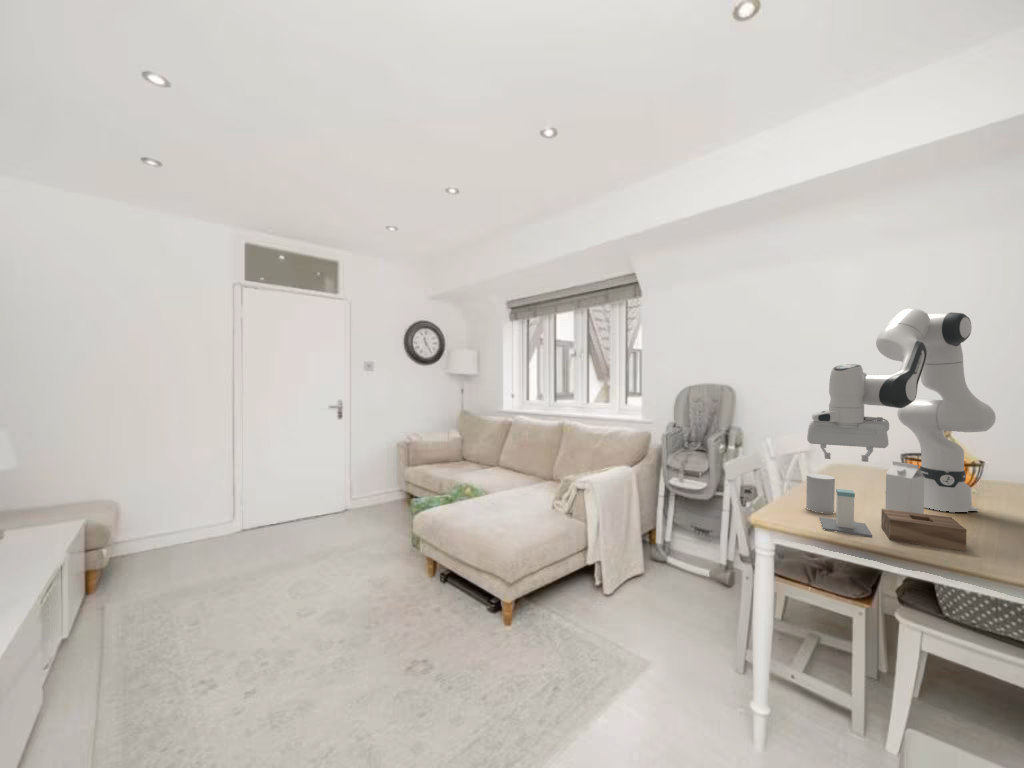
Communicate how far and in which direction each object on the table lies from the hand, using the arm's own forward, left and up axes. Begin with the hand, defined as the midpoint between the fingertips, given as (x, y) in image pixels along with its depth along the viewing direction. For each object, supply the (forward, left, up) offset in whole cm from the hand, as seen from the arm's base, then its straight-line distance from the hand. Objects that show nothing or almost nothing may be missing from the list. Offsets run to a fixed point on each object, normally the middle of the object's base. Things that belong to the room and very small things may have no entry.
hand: (845, 459), depth 138 cm
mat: (0, 0, -21) cm, 21 cm away
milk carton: (-19, +18, -22) cm, 34 cm away
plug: (0, 0, -21) cm, 21 cm away
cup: (-18, -5, -22) cm, 29 cm away
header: (0, +18, -21) cm, 28 cm away
